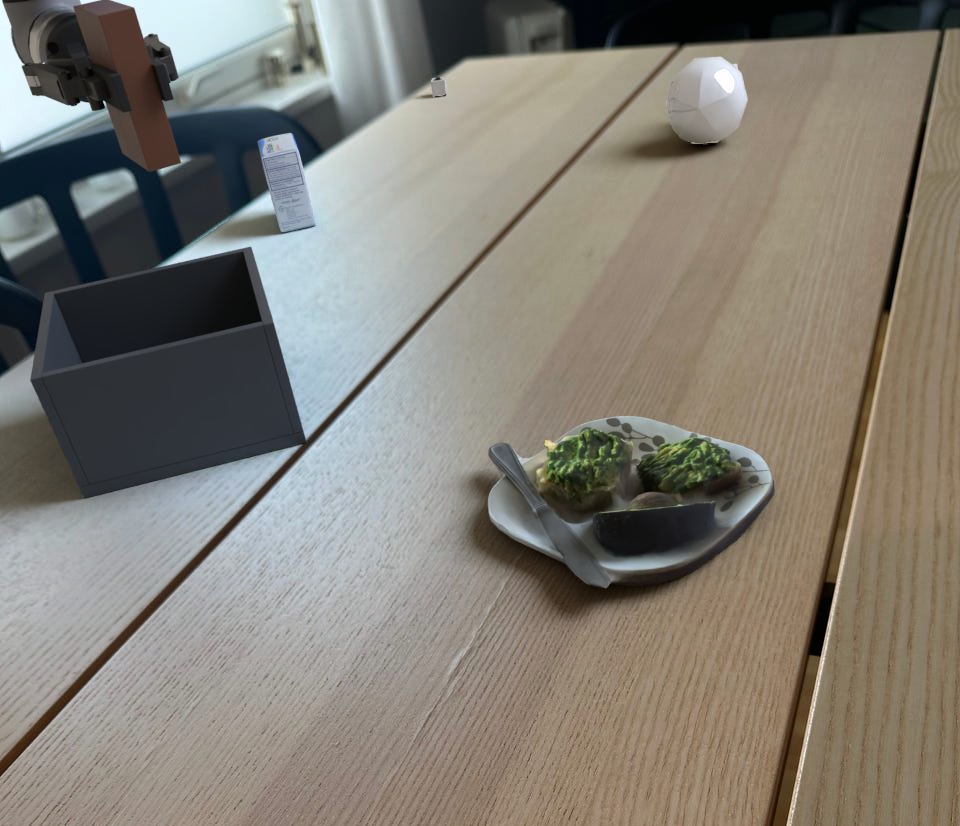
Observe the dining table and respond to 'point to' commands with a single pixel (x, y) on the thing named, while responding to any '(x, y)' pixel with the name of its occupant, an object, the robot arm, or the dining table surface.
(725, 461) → the salad plate
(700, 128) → the white faceted oblong piece
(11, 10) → the robot arm
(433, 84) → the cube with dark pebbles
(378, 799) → the dining table surface
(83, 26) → the reddish brown rectangular block
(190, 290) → the open storage box
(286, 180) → the medicine box
